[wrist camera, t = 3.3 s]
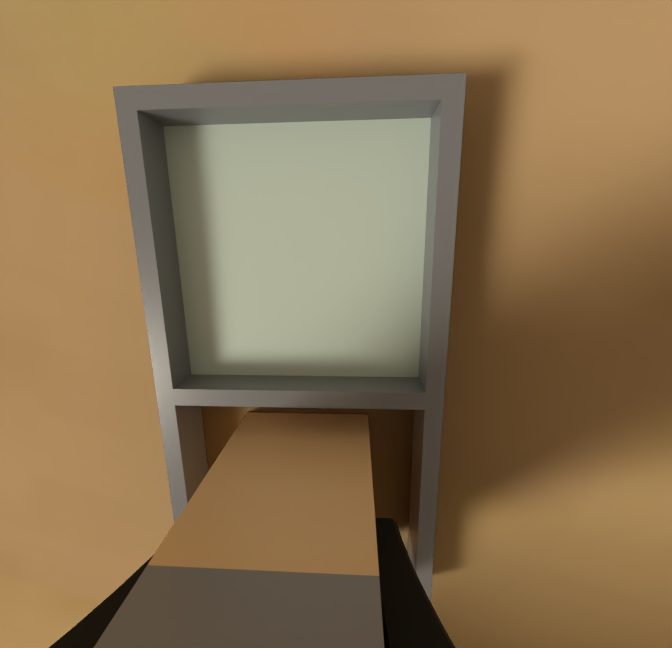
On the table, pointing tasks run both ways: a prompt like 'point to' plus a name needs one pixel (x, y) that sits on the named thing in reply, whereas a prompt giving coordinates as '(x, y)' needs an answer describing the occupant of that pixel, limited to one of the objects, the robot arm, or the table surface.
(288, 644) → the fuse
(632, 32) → the table surface
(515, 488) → the table surface
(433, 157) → the gray divided rectangular frame
